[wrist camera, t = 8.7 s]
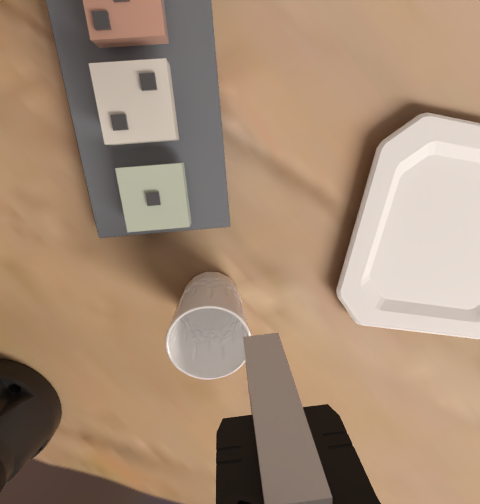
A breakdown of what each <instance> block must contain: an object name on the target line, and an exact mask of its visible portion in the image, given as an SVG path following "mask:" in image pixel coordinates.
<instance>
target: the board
mask: <svg viewBox="0 0 480 504" xmlns="http://www.w3.org/2000/svg"><path fill="white" fill-rule="evenodd" d="M46 4H47V8H48V13H49V17H50V21H51V26H52V30H53V35H54V39H55V44H56V48H57V53H58V57H59V62H60V66H61V71H62V75H63V80H64V84H65V89H66V93H67V97H68V102H69V106H70V111H71V115H72V120H73V124H74V129H75V133H76V138H77V142H78V147H79V151H80V156H81V160H82V165H83V169H84V174H85V178H86V182H87V187H88V191H89V196H90V200H91V205H92V209H93V214H94V218H95V223H96V227H97V232H98V236H99V238H105V237H117V236H128V235H140V234H152V233H163V232H175V231H186V230H198V229H209V228H221V227H230V216H229V204H228V192H227V180H226V169H225V157H224V145H223V133H222V122H221V110H220V98H219V86H218V75H217V63H216V51H215V39H214V28H213V16H212V4H211V0H164V7H165V15H166V23H167V31H168V39H169V44H155V45H140V46H124V47H108V48H99V47H98V46H97V45H95V44H94V43H93V42H92V41H91V40H90V36H89V31H88V25H87V20H86V15H85V10H84V5H83V0H46ZM162 58H166V59H167V61H168V63H169V65H170V71H171V79H172V87H173V95H174V103H175V111H176V118H177V126H178V134H179V140H174V141H160V142H147V143H134V144H121V145H105V144H104V139H103V134H102V129H101V124H100V119H99V114H98V109H97V104H96V98H95V93H94V88H93V83H92V78H91V73H90V68H89V63H100V62H116V61H131V60H146V59H162ZM183 162H184V167H185V175H186V183H187V191H188V199H189V207H190V215H191V225H190V227H185V228H173V229H161V230H150V231H138V232H127V228H126V222H125V217H124V212H123V207H122V202H121V197H120V191H119V186H118V181H117V176H116V171H115V168H120V167H132V166H145V165H157V164H170V163H183Z"/></svg>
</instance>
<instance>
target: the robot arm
mask: <svg viewBox="0 0 480 504" xmlns="http://www.w3.org/2000/svg"><path fill="white" fill-rule="evenodd" d="M243 342H244V351H245V361H246V370H247V380H248V389H249V397H250V405H251V413H252V415H247V416H239V417H231V418H224V419H223V420H222V422H221V424H220V426H219V429H218V431H217V442H216V449H217V452H216V464H217V466H216V504H381V503H380V501H379V500H378V498H377V496H376V494H375V492H374V490H373V488H372V486H371V483H370V481H369V479H368V477H367V475H366V472H365V470H364V468H363V466H362V464H361V462H360V459H359V457H358V455H357V453H356V451H355V448H354V447H353V445H352V442H351V440H350V438H349V435H348V434H347V432H346V429H345V427H344V425H343V422H342V420H341V418H340V416H339V415H338V414H337V413H336V412H335V411H334V410H333V409H332V408H331V407H330V406H329V405H328V404H326V405H318V406H310V407H302V404H301V401H300V398H299V395H298V392H297V388H296V385H295V382H294V379H293V376H292V373H291V370H290V367H289V364H288V361H287V358H286V355H285V352H284V349H283V346H282V343H281V340H280V337H279V334H278V333H272V334H264V335H255V336H247V337H243ZM61 414H62V410H61V404H60V400H59V398H58V395H57V393H56V392H55V390H54V389H53V387H52V386H51V385H50V384H49V383H48V381H46V380H45V379H44V378H43V377H42V376H41V375H39V374H38V373H37V372H35V371H33V370H32V369H30V368H28V367H26V366H23V365H21V364H18V363H15V362H12V361H8V360H2V359H0V492H1V490H2V489H3V487H4V486H5V484H6V483H7V482H8V481H9V480H11V479H12V478H13V477H14V476H15V475H16V474H17V473H18V472H19V471H20V470H21V469H22V468H23V467H24V466H25V465H26V464H27V463H28V461H29V460H30V459H32V458H33V457H35V456H36V455H37V454H39V453H40V452H41V451H42V450H43V449H44V448H45V447H46V445H47V444H48V443H49V441H50V440H51V438H52V436H53V435H54V433H55V431H56V429H57V428H58V426H59V423H60V420H61Z"/></svg>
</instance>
